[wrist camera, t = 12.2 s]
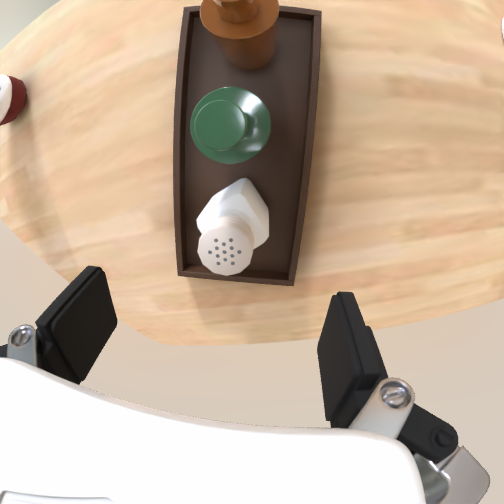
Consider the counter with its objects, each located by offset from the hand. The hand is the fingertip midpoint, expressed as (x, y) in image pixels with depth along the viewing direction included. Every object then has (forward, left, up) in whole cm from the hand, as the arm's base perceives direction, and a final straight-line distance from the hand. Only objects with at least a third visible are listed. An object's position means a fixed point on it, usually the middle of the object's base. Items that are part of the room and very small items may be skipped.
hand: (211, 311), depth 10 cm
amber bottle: (-14, 0, -15) cm, 20 cm away
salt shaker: (0, 0, -15) cm, 15 cm away
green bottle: (-7, 0, -15) cm, 16 cm away
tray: (-5, 0, -16) cm, 17 cm away
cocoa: (-13, -28, -16) cm, 35 cm away
